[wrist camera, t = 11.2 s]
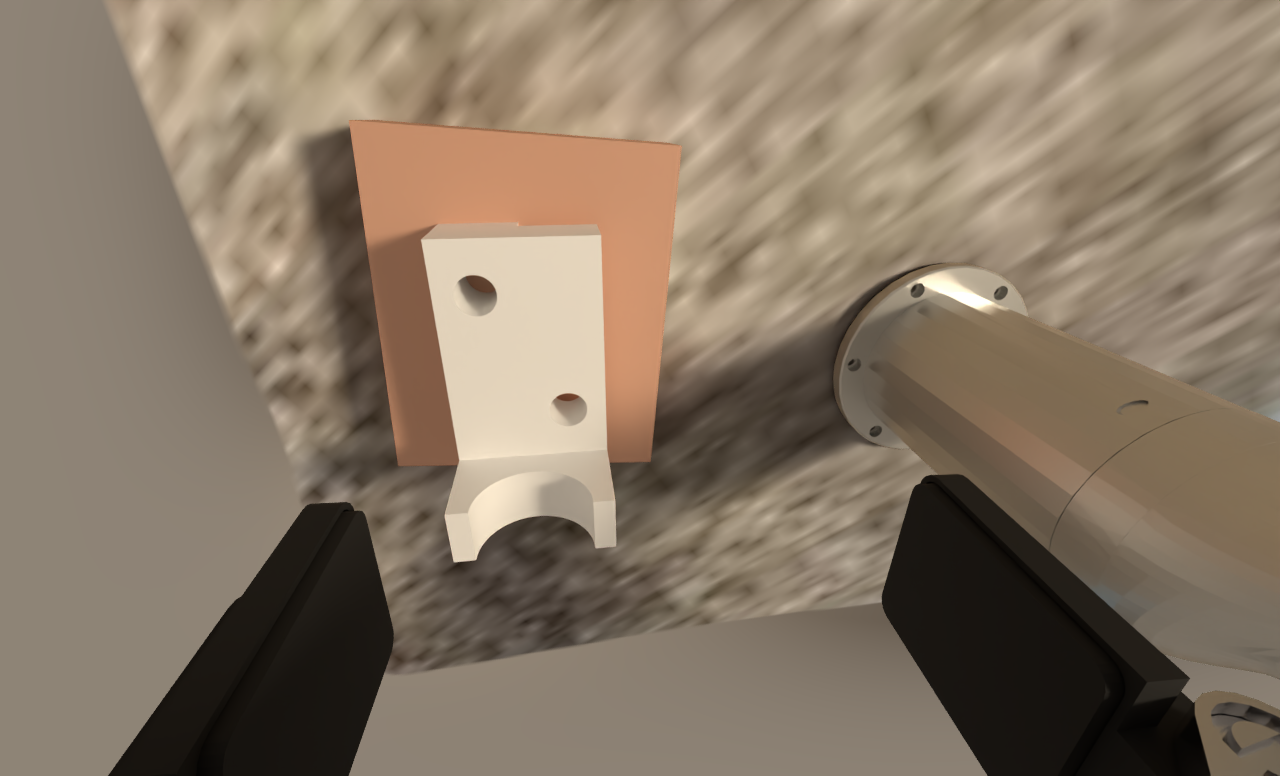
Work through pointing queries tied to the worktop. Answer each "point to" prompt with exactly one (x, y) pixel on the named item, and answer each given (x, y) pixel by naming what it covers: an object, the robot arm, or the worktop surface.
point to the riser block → (528, 194)
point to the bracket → (523, 377)
